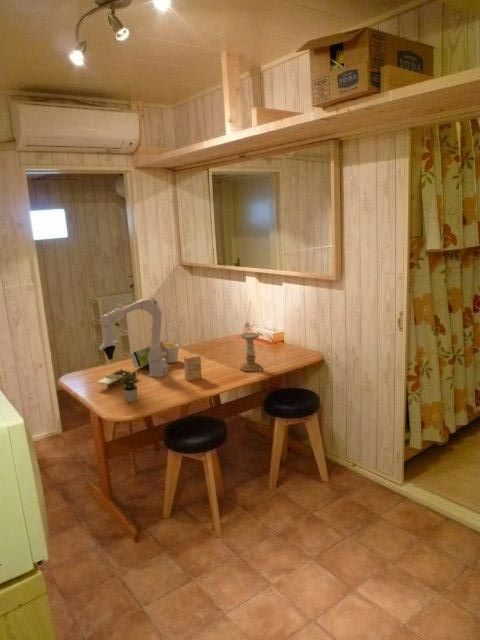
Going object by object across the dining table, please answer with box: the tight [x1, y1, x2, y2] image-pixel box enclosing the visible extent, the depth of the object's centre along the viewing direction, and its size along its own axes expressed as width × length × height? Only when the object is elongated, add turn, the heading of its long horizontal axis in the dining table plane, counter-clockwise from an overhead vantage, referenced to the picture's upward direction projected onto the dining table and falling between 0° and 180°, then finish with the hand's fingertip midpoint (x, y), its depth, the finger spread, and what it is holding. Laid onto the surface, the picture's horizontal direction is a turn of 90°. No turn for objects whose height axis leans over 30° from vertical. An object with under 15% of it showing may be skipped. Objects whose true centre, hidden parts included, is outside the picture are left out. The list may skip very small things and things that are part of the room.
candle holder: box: [240, 332, 263, 372], centre depth 272 cm, size 12×12×20 cm
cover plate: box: [96, 373, 123, 386], centre depth 254 cm, size 13×8×2 cm, turn 154°
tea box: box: [129, 341, 168, 369], centre depth 283 cm, size 15×10×15 cm
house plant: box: [115, 369, 143, 403], centre depth 234 cm, size 14×14×16 cm
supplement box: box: [183, 353, 203, 382], centre depth 260 cm, size 8×5×13 cm, turn 118°
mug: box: [163, 342, 180, 364], centre depth 293 cm, size 14×10×10 cm
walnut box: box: [109, 368, 137, 387], centre depth 262 cm, size 13×10×4 cm
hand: (110, 359), depth 268 cm, fingers closed
